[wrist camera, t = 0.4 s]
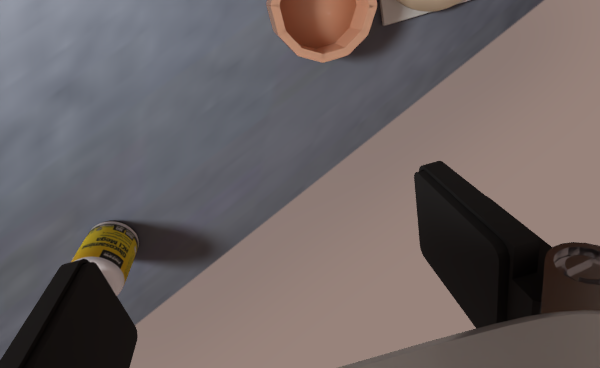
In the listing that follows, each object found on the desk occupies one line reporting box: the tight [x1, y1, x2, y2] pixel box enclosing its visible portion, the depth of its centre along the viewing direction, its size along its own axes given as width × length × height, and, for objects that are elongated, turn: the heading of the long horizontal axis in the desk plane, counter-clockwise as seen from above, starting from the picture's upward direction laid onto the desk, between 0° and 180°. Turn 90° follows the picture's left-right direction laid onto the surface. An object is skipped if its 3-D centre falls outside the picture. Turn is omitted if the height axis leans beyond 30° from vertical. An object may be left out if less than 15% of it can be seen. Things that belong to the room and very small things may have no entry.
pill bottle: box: [71, 221, 139, 296], centre depth 44 cm, size 6×6×11 cm
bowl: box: [266, 0, 377, 63], centre depth 38 cm, size 10×10×5 cm
